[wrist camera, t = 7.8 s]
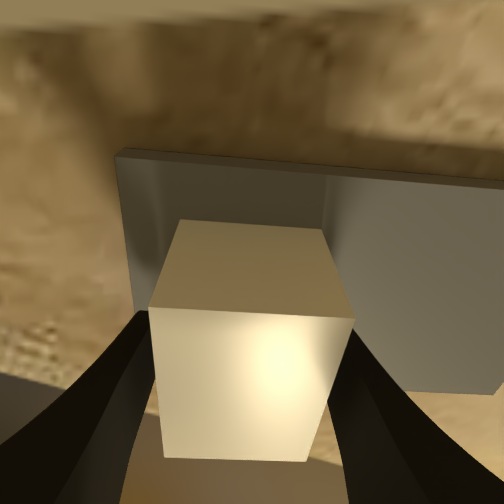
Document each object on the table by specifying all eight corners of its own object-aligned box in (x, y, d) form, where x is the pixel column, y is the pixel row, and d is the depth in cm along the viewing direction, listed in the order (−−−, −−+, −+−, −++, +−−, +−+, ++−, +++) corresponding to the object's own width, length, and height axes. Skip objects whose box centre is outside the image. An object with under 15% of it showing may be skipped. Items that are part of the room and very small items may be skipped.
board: (619, 190, 12) (758, 248, 9) (481, 378, 18) (534, 455, 15) (123, 147, 11) (71, 195, 8) (148, 362, 17) (124, 441, 14)
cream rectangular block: (321, 229, 12) (356, 318, 8) (291, 359, 16) (306, 461, 12) (180, 219, 12) (147, 307, 8) (184, 354, 15) (164, 457, 12)
